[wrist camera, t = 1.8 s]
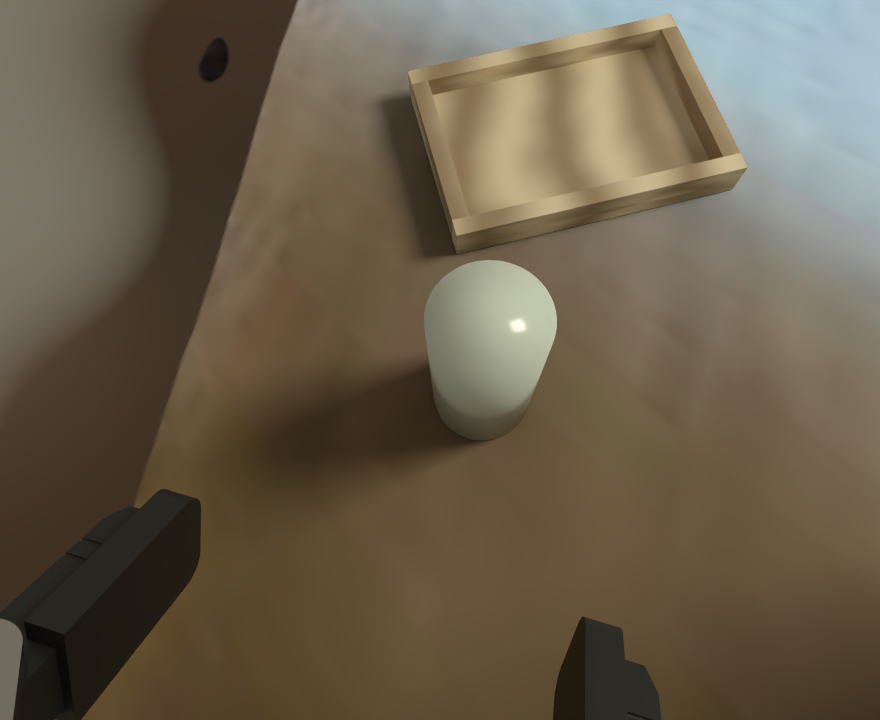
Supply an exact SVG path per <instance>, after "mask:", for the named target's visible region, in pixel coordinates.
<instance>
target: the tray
mask: <svg viewBox="0 0 880 720" xmlns="http://www.w3.org/2000/svg"><path fill="white" fill-rule="evenodd" d="M408 78H409V88H410V97H411V101H412V104H413V107H414V111H415V114H416V118H417V121H418V124H419V128H420V131H421V135H422V138H423V141H424V145H425V148H426V152H427V155H428V158H429V162H430V165H431V169H432V172H433V175H434V179H435V182H436V186H437V189H438V192H439V196H440V199H441V203H442V206H443V209H444V213H445V216H446V220H447V223H448V227H449V230H450V233H451V237H452V240H453V244H454V247H455V250H456V254H462V253H466V252H470V251H474V250H479V249H483V248H487V247H491V246H496V245H500V244H504V243H508V242H512V241H517V240H521V239H525V238H529V237H534V236H538V235H542V234H546V233H551V232H555V231H559V230H563V229H567V228H572V227H576V226H580V225H584V224H589V223H593V222H597V221H601V220H606V219H610V218H614V217H618V216H622V215H627V214H631V213H635V212H639V211H644V210H648V209H652V208H656V207H661V206H665V205H669V204H673V203H677V202H682V201H686V200H690V199H694V198H699V197H703V196H707V195H711V194H716V193H720V192H724V191H728V190H732V189H733V188H734V186H735V185H736V183H737V182H738V180H739V179H740V178H741V176H742V175H743V173H744V172H745V170H746V169H747V165H746V163H745V161H744V159H743V157H742V155H741V153H740V151H739V149H738V147H737V145H736V143H735V141H734V139H733V137H732V135H731V133H730V131H729V129H728V127H727V125H726V123H725V121H724V119H723V117H722V115H721V113H720V111H719V109H718V107H717V105H716V103H715V101H714V99H713V97H712V95H711V93H710V91H709V89H708V87H707V85H706V83H705V81H704V79H703V77H702V75H701V73H700V71H699V69H698V67H697V65H696V63H695V61H694V59H693V57H692V55H691V53H690V51H689V49H688V47H687V45H686V43H685V41H684V39H683V37H682V35H681V33H680V31H679V29H678V27H677V25H676V23H675V21H674V19H673V17H672V15H671V14H668V15H664V16H659V17H654V18H650V19H645V20H641V21H636V22H632V23H627V24H622V25H618V26H613V27H609V28H604V29H600V30H595V31H590V32H586V33H581V34H577V35H572V36H568V37H563V38H558V39H554V40H549V41H545V42H540V43H536V44H531V45H526V46H522V47H517V48H513V49H508V50H504V51H499V52H494V53H490V54H485V55H481V56H476V57H472V58H467V59H462V60H458V61H453V62H449V63H444V64H440V65H435V66H430V67H426V68H421V69H417V70H412V71H408Z"/></svg>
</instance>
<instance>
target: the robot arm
mask: <svg viewBox="0 0 880 720" xmlns="http://www.w3.org/2000/svg"><path fill="white" fill-rule="evenodd" d="M200 531H201V504H200V501H199V500H198V499H196V498H193V497H190V496H186V495H183V494H180V493H177V492H173V491H170V490H167V489H162V490H160V491H158V492H157V493H156V494H154V495H153V496H152V497H151V498H150V499H149V500H148V501H147V502H146V503H145V504H144V505H143V506H142V507H141V508H140V509H138V508H135V507H131V506H128V507H126V508H124V509H122V510H120V511H118V512H116V513H114V514H112V515H110V516H108V517H106V518H104V519H102V520H101V521H100V522H99V523H98V524H97V525H96V526H95V527H94V528H92V529H91V530H90V531H89V532H88V533H87V534H86V535H85V536H84V537H83V539H82V541H78V542H77V543H76V544H75V545H74V546H73V547H72V548H71V549H70V550H69V551H67V552H66V555H65V556H64V557H63V556H62V557H61V558H60V559H59V560H57V562H55V563H54V564H53V565H52V566H51V567H50V568H49V569H48V570H47V571H45V572H44V573H43V574H42V575H41V576H40V577H39V578H38V579H37V580H36V581H34V583H32V584H31V585H30V586H29V587H28V588H27V589H26V590H25V591H24V592H22V593H21V594H20V595H19V596H18V597H17V598H16V599H15V600H14V601H13V602H12V603H10V604H9V605H8V606H7V607H6V608H5V609H4V610H3V611H2V612H0V720H54V719H57V720H81V719H82V718H83V717H84V715H85V714H86V713H87V711H88V710H89V709H90V708H91V706H92V705H93V704H94V703H95V701H96V700H97V699H98V697H99V696H100V695H101V694H102V692H103V691H104V690H105V689H106V687H107V686H108V685H109V683H110V682H111V681H112V680H113V678H114V677H115V676H116V675H117V673H118V672H119V671H120V670H121V668H122V667H123V666H124V664H125V663H126V662H127V661H128V659H129V658H130V657H131V656H132V654H133V653H134V652H135V650H136V649H137V648H138V647H139V645H140V644H141V643H142V642H143V640H144V639H145V638H146V636H147V635H148V634H149V633H150V631H151V630H152V629H153V628H154V626H155V625H156V624H157V623H158V621H159V620H160V619H161V617H162V616H163V615H164V614H165V612H166V611H167V610H168V609H169V607H170V606H171V605H172V603H173V602H174V601H175V600H176V598H177V597H178V596H179V595H180V593H181V592H182V591H183V589H184V588H185V587H186V586H187V584H188V583H189V582H190V580H191V578H192V576H193V575H194V572H195V570H196V568H197V565H198V562H199V558H200ZM553 720H661V713H660V704H659V695H658V692H657V690H656V688H655V686H654V684H653V682H652V680H651V678H650V676H649V674H648V672H647V670H646V668H645V666H643V665H640V664H637V663H634V662H630V661H627V660H625V659H624V642H623V632H622V629H621V628H619V627H615V626H612V625H609V624H606V623H602V622H599V621H596V620H592V619H589V618H586V617H582V618H581V619H580V621H579V623H578V626H577V628H576V631H575V633H574V636H573V638H572V641H571V643H570V646H569V648H568V651H567V653H566V656H565V659H564V661H563V664H562V666H561V669H560V672H559V676H558V680H557V685H556V690H555V698H554V712H553Z"/></svg>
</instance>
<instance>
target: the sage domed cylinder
mask: <svg viewBox="0 0 880 720" xmlns="http://www.w3.org/2000/svg"><path fill="white" fill-rule="evenodd" d="M556 328H557V317H556V310H555V306H554V303H553V301H552V298H551V296H550V294H549V293H548V291H547V289H546V288H545V287H544V285H543V284H542V283H541V282H540V281H539V280H538V279H537V278H536V277H535V276H534V275H532V274H531V273H530V272H528V271H526V270H525V269H523V268H521V267H519V266H516V265H514V264H511V263H507V262H503V261H495V260H483V261H476V262H471V263H468V264H465V265H463V266H460V267H458V268H456V269H454V270H453V271H451V272H450V273H448V274H447V275H446V276H444V277H443V278H442V279H441V280H440V281H439V282H438V284H437V285H436V286H435V288H434V289H433V291H432V292H431V294H430V296H429V298H428V301H427V303H426V307H425V312H424V329H425V337H426V344H427V351H428V358H429V366H430V373H431V380H432V387H433V395H434V401H435V406H436V409H437V412H438V414H439V416H440V418H441V419H442V421H443V422H444V423H445V424H446V426H447V427H449V428H450V429H451V430H452V431H453V432H455V433H456V434H458V435H460V436H462V437H465V438H468V439H472V440H479V441H485V440H492V439H496V438H499V437H502V436H504V435H506V434H507V433H509V432H510V431H512V430H513V429H514V428H515V427H516V426H517V425H518V424H519V423H520V421H521V420H522V418H523V417H524V415H525V412H526V410H527V408H528V405H529V402H530V400H531V397H532V395H533V392H534V390H535V387H536V385H537V382H538V380H539V377H540V375H541V372H542V369H543V367H544V364H545V362H546V359H547V357H548V354H549V352H550V349H551V347H552V344H553V341H554V338H555V334H556Z"/></svg>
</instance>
